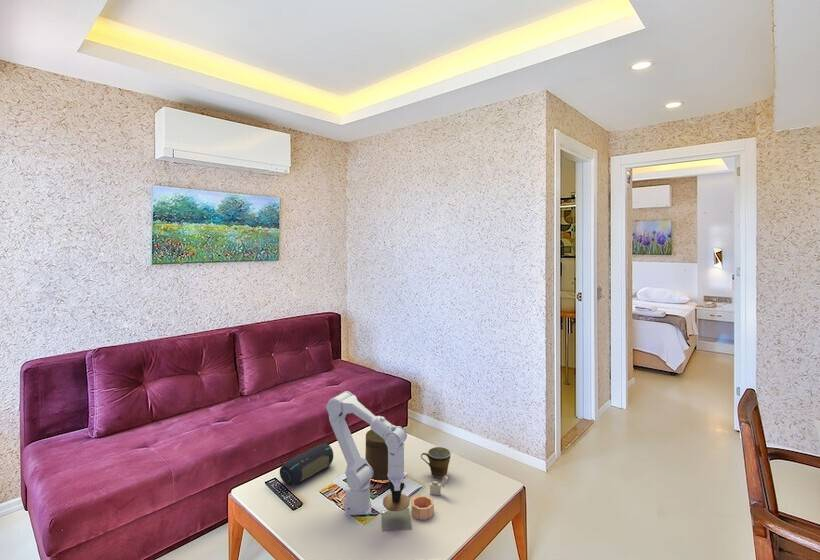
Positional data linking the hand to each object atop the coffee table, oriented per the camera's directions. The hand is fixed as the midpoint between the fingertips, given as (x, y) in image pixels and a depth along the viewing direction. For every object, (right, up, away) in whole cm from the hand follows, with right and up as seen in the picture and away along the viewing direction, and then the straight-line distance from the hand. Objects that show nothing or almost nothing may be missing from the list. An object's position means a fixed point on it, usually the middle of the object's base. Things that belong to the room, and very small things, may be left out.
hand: (395, 498), depth 152 cm
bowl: (+10, -8, +5) cm, 14 cm away
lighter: (+17, -7, +16) cm, 24 cm away
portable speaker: (-39, -6, +31) cm, 50 cm away
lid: (0, -2, 0) cm, 2 cm away
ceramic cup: (+16, -6, +31) cm, 36 cm away
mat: (0, -8, +1) cm, 8 cm away
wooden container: (-7, -6, +31) cm, 32 cm away
